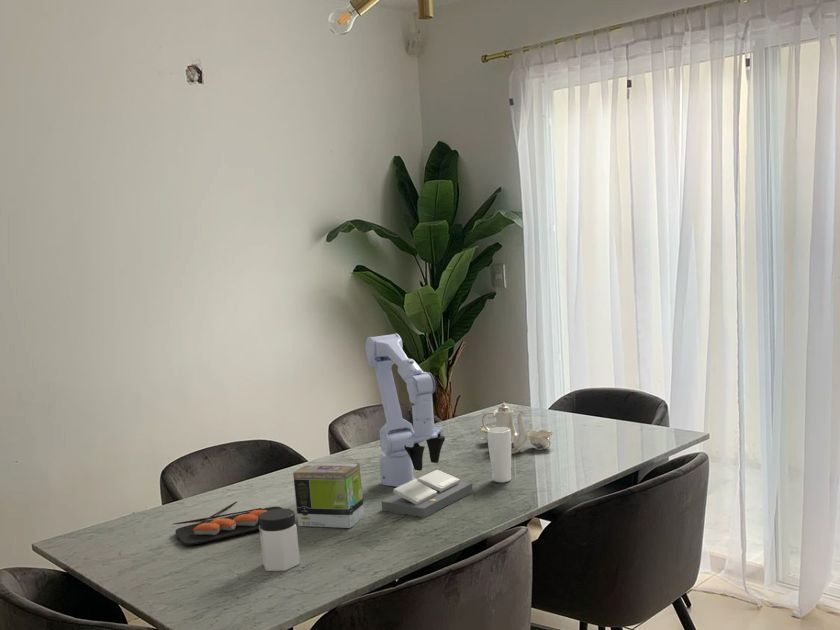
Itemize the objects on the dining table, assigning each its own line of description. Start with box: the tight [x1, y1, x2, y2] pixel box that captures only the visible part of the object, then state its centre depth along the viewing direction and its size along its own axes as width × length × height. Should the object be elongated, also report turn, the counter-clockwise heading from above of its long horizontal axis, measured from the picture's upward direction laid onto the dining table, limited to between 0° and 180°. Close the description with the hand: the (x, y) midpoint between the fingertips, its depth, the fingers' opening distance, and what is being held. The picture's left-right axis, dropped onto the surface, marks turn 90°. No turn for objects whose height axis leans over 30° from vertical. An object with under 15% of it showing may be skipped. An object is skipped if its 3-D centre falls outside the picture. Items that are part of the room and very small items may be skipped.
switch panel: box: [381, 481, 474, 519], centre depth 237 cm, size 14×23×3 cm, turn 144°
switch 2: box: [417, 469, 461, 492], centre depth 241 cm, size 8×9×1 cm
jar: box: [259, 508, 301, 572], centre depth 199 cm, size 9×8×12 cm
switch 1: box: [393, 480, 437, 505], centre depth 232 cm, size 8×9×1 cm
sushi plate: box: [173, 501, 284, 546], centre depth 233 cm, size 29×30×4 cm
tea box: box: [292, 462, 365, 529], centre depth 226 cm, size 15×10×15 cm, turn 71°
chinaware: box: [478, 401, 554, 455], centre depth 284 cm, size 28×17×17 cm, turn 58°
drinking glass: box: [487, 427, 512, 483], centre depth 250 cm, size 7×7×15 cm
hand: (426, 466), depth 238 cm, fingers open, 7 cm apart
